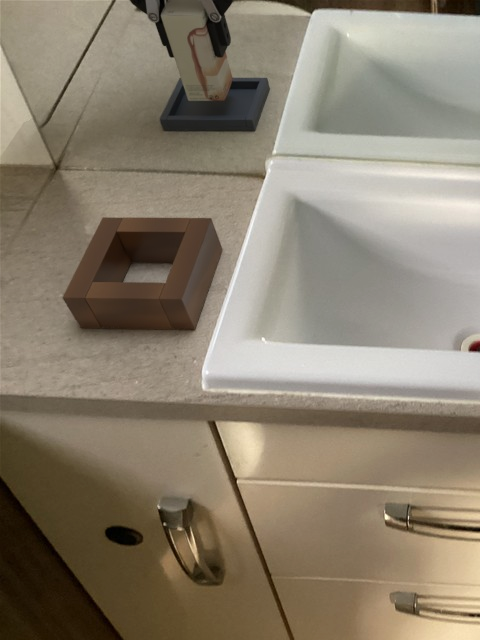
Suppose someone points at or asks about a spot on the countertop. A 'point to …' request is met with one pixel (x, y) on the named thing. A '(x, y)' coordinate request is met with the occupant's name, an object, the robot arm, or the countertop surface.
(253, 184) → the countertop surface
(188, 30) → the printed product carton
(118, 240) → the frame
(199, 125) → the tray
